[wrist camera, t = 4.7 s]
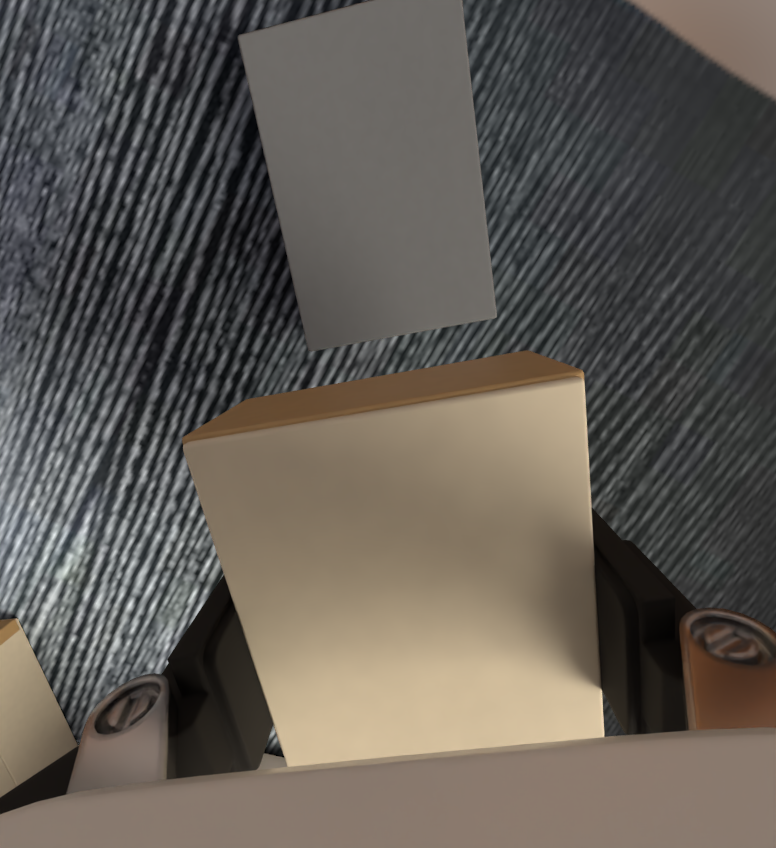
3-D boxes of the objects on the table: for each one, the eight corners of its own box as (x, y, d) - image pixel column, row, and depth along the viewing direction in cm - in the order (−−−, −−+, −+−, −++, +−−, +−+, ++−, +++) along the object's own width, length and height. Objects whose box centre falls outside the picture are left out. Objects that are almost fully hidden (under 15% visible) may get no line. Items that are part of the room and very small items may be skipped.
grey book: (270, 87, 16) (233, 31, 13) (450, 43, 16) (461, -30, 12) (325, 345, 19) (306, 352, 16) (483, 316, 18) (499, 317, 15)
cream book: (246, 397, 11) (175, 440, 7) (527, 349, 10) (589, 370, 7) (331, 703, 13) (306, 837, 10) (557, 678, 13) (612, 812, 9)
